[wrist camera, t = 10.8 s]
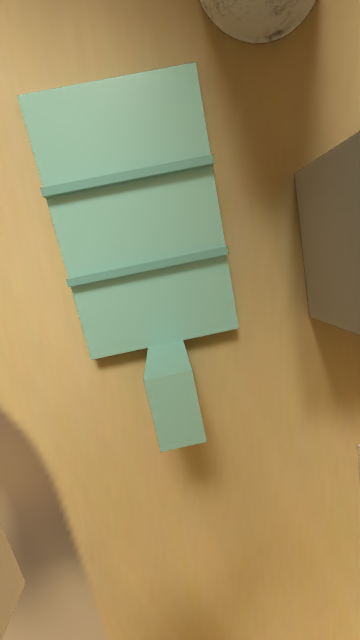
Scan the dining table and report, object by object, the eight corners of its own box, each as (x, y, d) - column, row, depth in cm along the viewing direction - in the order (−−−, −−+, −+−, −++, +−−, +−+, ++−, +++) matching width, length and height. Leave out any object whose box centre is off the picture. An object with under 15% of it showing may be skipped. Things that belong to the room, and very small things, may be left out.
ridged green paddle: (108, 406, 26) (86, 468, 18) (25, 104, 21) (-55, 10, 13) (243, 377, 26) (279, 425, 19) (193, 73, 21) (213, -37, 13)
